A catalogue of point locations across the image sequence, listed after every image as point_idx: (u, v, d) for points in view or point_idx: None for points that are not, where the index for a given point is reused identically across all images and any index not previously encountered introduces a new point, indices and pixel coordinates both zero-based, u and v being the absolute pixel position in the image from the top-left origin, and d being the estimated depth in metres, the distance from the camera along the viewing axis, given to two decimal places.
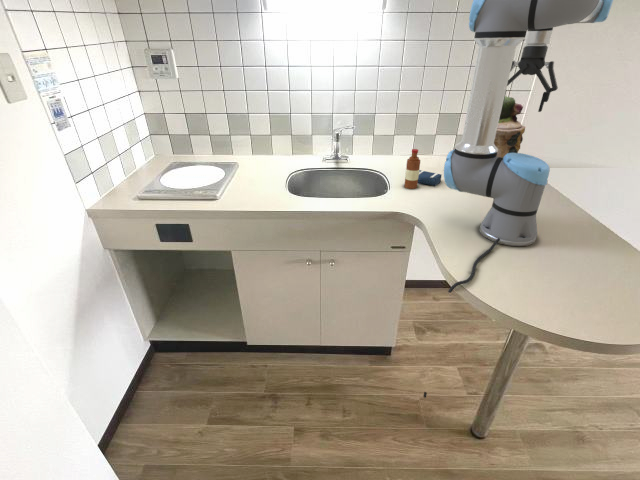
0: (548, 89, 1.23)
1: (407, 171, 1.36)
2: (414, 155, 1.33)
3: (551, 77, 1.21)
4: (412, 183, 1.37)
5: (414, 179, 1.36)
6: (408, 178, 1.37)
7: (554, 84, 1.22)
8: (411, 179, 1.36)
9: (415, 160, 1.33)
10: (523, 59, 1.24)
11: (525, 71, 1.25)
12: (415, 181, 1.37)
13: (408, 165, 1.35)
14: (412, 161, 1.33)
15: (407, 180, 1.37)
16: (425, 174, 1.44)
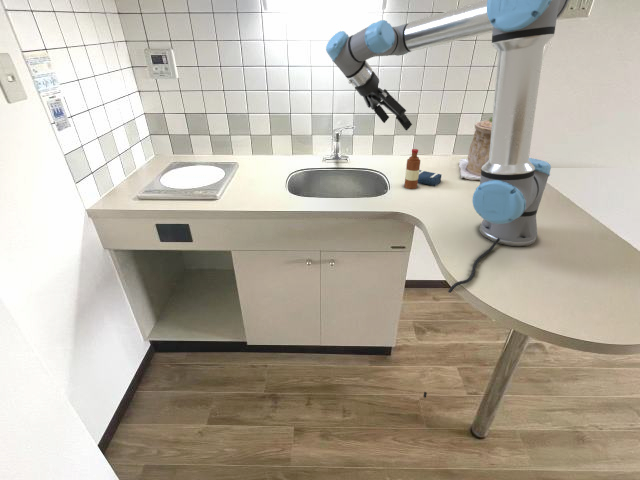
0: None
1: (407, 171, 1.36)
2: (414, 155, 1.33)
3: None
4: (412, 183, 1.37)
5: (414, 179, 1.36)
6: (408, 178, 1.37)
7: None
8: (411, 179, 1.36)
9: (415, 160, 1.33)
10: (377, 87, 1.11)
11: None
12: (415, 181, 1.37)
13: (408, 165, 1.35)
14: (412, 161, 1.33)
15: (407, 180, 1.37)
16: (425, 174, 1.44)
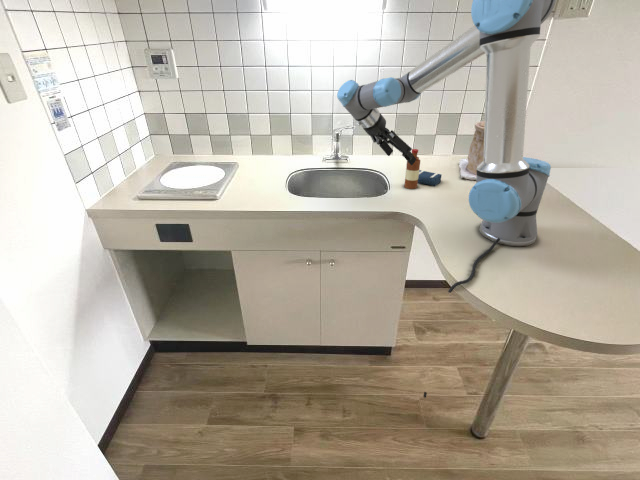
0: None
1: (407, 171, 1.36)
2: (414, 155, 1.33)
3: None
4: (412, 183, 1.37)
5: (414, 179, 1.36)
6: (408, 178, 1.37)
7: None
8: (411, 179, 1.36)
9: None
10: (384, 127, 1.19)
11: None
12: (415, 181, 1.37)
13: (408, 165, 1.35)
14: None
15: (407, 180, 1.37)
16: (425, 174, 1.44)
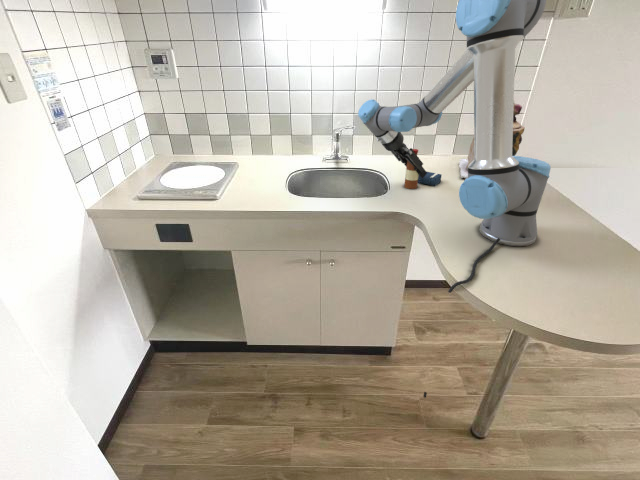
0: None
1: (407, 171, 1.36)
2: None
3: None
4: (412, 183, 1.37)
5: (414, 179, 1.36)
6: (408, 178, 1.37)
7: None
8: (411, 179, 1.36)
9: None
10: None
11: None
12: (415, 181, 1.37)
13: (408, 165, 1.35)
14: None
15: (407, 180, 1.37)
16: None
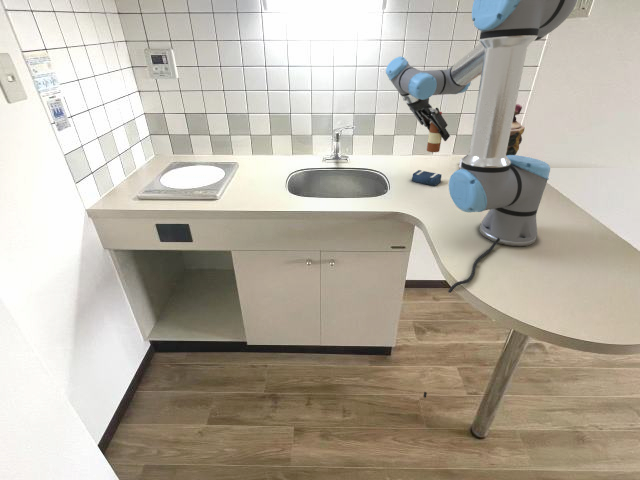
0: None
1: (430, 134, 1.37)
2: None
3: None
4: (435, 146, 1.38)
5: (437, 142, 1.37)
6: (431, 141, 1.38)
7: None
8: (434, 141, 1.37)
9: None
10: None
11: None
12: (438, 144, 1.38)
13: (431, 128, 1.36)
14: None
15: (430, 143, 1.38)
16: (425, 174, 1.44)
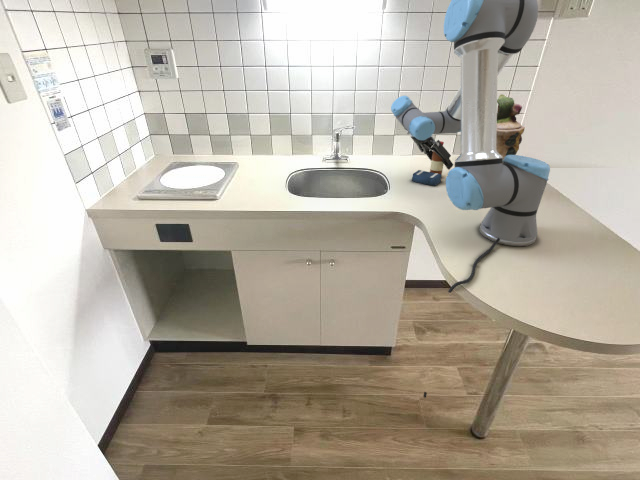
0: None
1: (433, 162, 1.45)
2: None
3: None
4: None
5: (439, 169, 1.46)
6: (433, 169, 1.46)
7: None
8: (436, 169, 1.46)
9: None
10: None
11: None
12: (440, 171, 1.46)
13: (434, 156, 1.44)
14: None
15: (432, 170, 1.47)
16: (425, 174, 1.44)
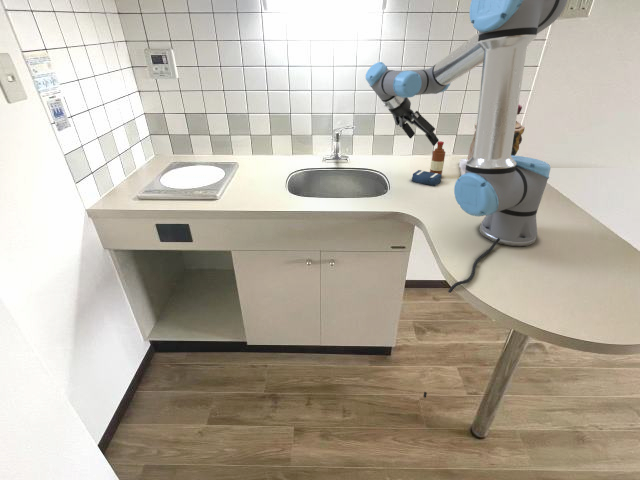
0: None
1: (433, 162, 1.45)
2: (440, 147, 1.43)
3: None
4: None
5: (439, 169, 1.46)
6: (433, 169, 1.46)
7: None
8: (436, 169, 1.46)
9: (441, 152, 1.43)
10: None
11: None
12: (440, 171, 1.46)
13: (434, 156, 1.44)
14: (438, 152, 1.43)
15: (432, 170, 1.47)
16: (425, 174, 1.44)
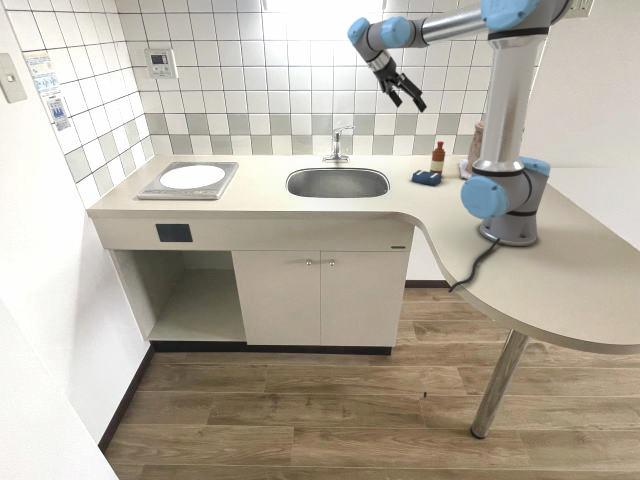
0: None
1: (433, 162, 1.45)
2: (440, 147, 1.43)
3: None
4: None
5: (439, 169, 1.46)
6: (433, 169, 1.46)
7: None
8: (436, 169, 1.46)
9: (441, 152, 1.43)
10: None
11: None
12: (440, 171, 1.46)
13: (434, 156, 1.44)
14: (438, 152, 1.43)
15: (432, 170, 1.47)
16: (425, 174, 1.44)
